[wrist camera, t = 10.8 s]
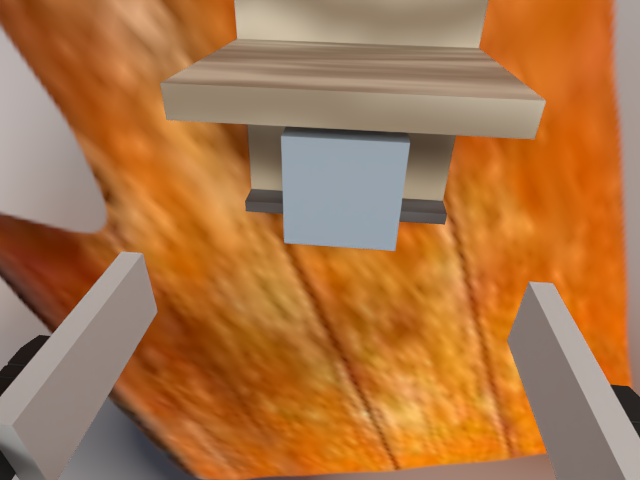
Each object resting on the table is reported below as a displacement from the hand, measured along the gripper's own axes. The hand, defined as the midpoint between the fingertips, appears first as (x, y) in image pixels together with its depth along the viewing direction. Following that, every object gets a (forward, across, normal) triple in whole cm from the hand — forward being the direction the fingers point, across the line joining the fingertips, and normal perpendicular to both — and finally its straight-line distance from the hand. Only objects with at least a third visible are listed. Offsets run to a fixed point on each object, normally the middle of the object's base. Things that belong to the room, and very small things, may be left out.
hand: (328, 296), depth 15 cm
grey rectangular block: (+17, 0, 0) cm, 17 cm away
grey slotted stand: (+21, 0, +2) cm, 21 cm away
